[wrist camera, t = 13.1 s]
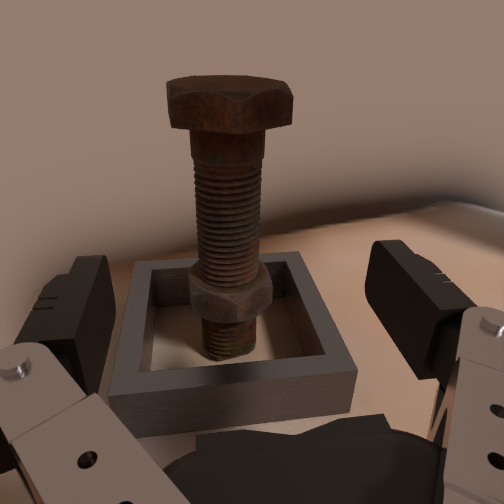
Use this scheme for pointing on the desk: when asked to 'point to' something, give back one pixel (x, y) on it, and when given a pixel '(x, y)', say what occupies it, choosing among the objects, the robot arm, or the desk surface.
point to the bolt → (228, 199)
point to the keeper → (228, 375)
